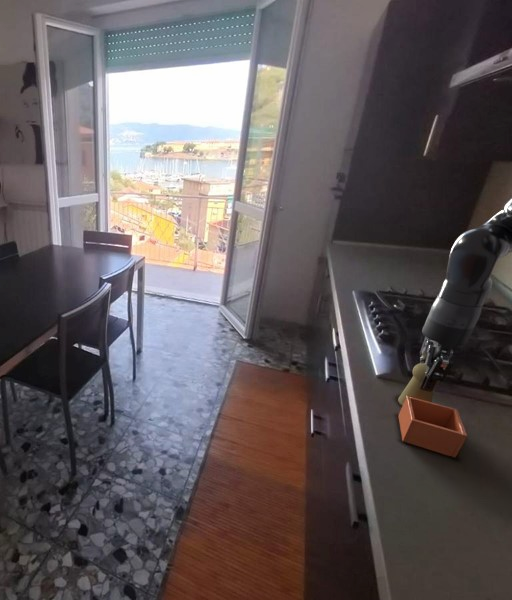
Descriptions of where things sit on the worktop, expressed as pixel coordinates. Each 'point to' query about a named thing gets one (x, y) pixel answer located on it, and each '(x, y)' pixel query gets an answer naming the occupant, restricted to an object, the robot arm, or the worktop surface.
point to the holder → (431, 426)
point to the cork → (417, 386)
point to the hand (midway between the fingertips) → (423, 382)
